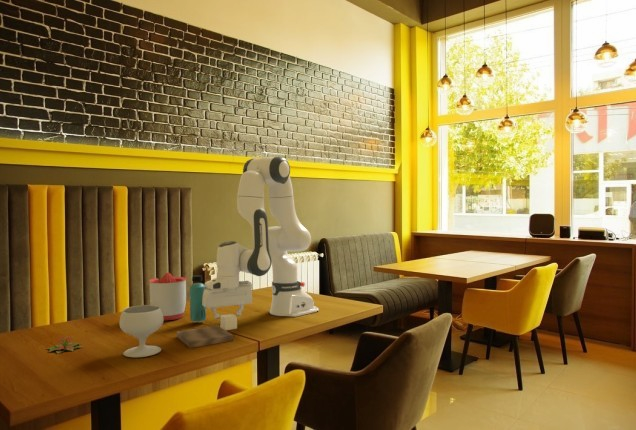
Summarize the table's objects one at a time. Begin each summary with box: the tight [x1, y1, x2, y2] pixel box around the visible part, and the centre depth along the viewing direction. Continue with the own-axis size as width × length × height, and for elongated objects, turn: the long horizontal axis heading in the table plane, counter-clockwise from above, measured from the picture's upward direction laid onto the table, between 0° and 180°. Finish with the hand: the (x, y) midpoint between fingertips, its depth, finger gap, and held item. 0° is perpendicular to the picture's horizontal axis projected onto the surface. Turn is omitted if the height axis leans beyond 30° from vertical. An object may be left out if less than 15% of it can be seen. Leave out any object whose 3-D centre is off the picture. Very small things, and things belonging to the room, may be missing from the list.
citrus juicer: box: [148, 272, 187, 322], centre depth 211 cm, size 16×17×20 cm
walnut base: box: [176, 325, 234, 349], centre depth 179 cm, size 16×16×2 cm
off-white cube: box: [219, 313, 238, 331], centre depth 193 cm, size 5×5×5 cm
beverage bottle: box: [189, 274, 207, 323], centre depth 201 cm, size 6×7×20 cm
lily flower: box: [46, 335, 83, 355], centre depth 169 cm, size 12×12×5 cm
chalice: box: [119, 304, 164, 358], centre depth 163 cm, size 14×14×15 cm
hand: (227, 316), depth 193 cm, fingers open, 8 cm apart
